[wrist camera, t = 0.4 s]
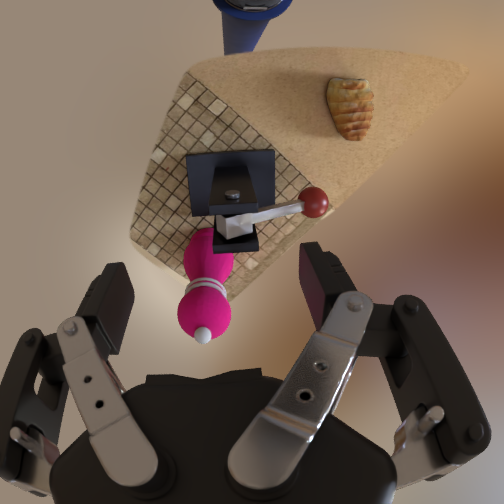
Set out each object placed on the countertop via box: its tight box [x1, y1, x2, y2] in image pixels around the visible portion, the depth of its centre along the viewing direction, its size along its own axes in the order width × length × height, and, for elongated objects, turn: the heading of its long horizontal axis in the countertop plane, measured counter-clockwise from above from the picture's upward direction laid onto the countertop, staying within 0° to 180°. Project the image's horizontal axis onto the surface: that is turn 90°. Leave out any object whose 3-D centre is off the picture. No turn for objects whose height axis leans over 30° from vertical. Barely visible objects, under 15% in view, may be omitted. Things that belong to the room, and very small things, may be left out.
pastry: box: [326, 78, 374, 141], centre depth 34 cm, size 9×7×4 cm
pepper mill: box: [177, 228, 234, 344], centre depth 36 cm, size 7×7×20 cm
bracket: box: [186, 149, 275, 254], centre depth 33 cm, size 12×9×16 cm
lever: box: [216, 187, 329, 239], centre depth 30 cm, size 13×4×4 cm, turn 91°
